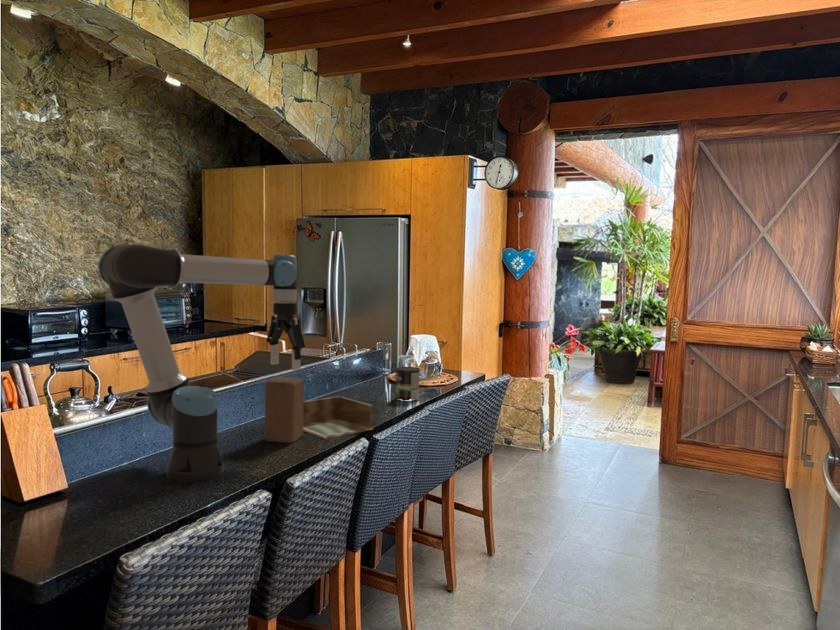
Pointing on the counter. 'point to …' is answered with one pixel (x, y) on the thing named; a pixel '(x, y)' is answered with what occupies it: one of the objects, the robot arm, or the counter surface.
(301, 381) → the wooden block
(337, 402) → the corner arena
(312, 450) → the counter surface
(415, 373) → the coffee can
